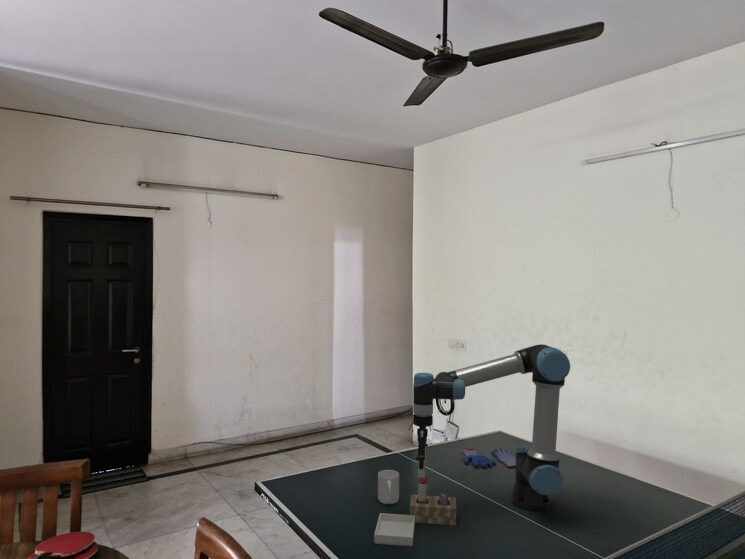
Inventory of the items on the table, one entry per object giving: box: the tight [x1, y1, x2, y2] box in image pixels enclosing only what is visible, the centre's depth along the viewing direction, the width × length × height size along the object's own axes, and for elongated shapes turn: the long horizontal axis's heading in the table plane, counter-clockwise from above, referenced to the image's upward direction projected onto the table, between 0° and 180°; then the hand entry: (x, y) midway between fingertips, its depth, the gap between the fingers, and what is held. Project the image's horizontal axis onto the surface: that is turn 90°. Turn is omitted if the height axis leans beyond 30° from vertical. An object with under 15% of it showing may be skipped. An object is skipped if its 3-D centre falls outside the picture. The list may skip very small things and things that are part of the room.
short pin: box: [438, 492, 449, 505], centre depth 186 cm, size 3×3×9 cm
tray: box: [373, 512, 416, 547], centre depth 174 cm, size 13×16×3 cm
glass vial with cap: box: [417, 474, 428, 504], centre depth 187 cm, size 3×3×16 cm
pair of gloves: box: [461, 447, 516, 470], centre depth 249 cm, size 32×26×4 cm
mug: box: [377, 469, 400, 505], centre depth 200 cm, size 9×12×11 cm
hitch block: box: [409, 494, 457, 526], centre depth 187 cm, size 17×10×6 cm, turn 82°
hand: (421, 470), depth 187 cm, fingers open, 13 cm apart
